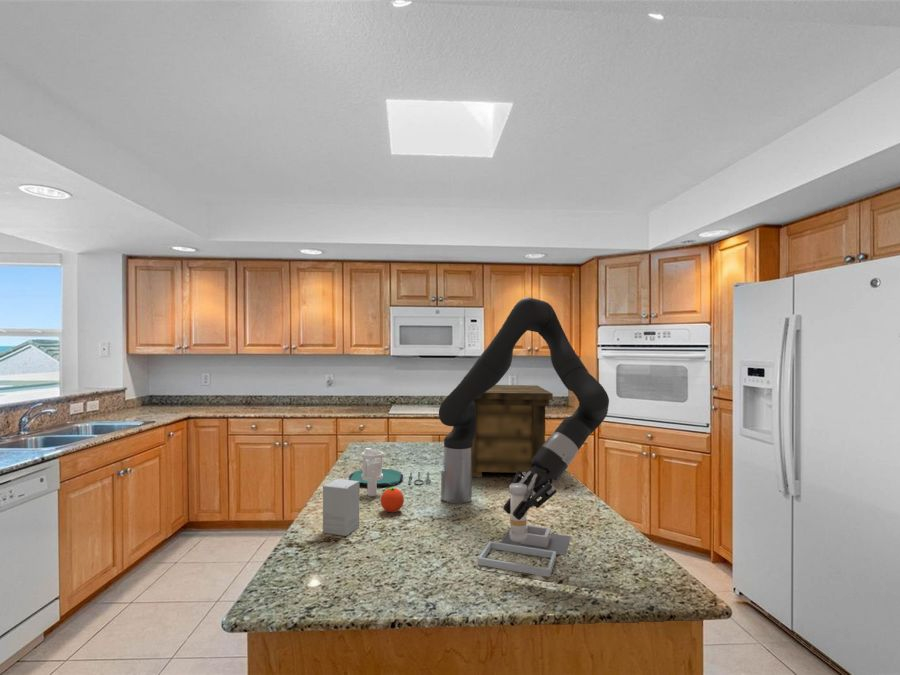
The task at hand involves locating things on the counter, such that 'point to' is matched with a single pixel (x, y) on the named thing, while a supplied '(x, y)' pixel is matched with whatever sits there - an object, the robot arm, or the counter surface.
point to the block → (541, 540)
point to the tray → (516, 566)
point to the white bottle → (516, 496)
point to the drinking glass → (372, 470)
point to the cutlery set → (387, 477)
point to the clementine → (392, 499)
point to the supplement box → (340, 507)
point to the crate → (508, 428)
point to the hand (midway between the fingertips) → (511, 514)
